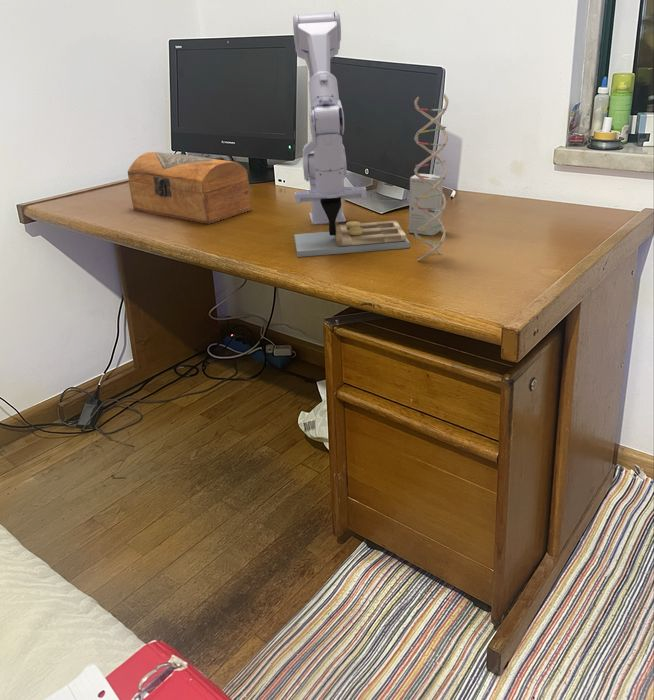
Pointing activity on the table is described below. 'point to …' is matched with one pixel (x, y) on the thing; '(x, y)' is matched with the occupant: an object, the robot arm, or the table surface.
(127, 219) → the table surface
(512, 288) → the table surface
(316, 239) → the board
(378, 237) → the beige flat slatted frame
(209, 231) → the table surface
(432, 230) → the skincare box
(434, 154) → the dna model
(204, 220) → the wooden box
